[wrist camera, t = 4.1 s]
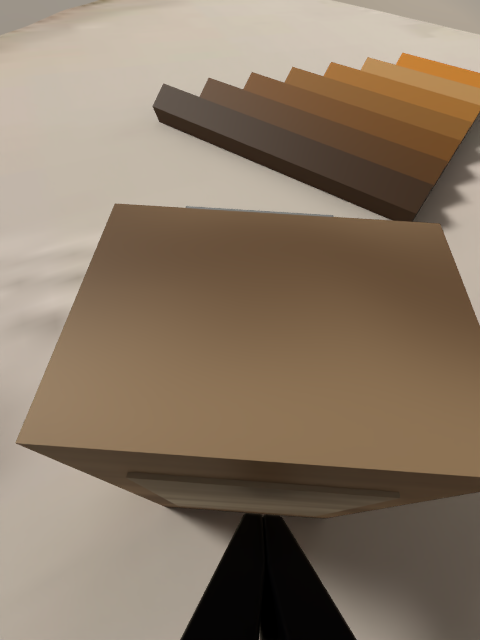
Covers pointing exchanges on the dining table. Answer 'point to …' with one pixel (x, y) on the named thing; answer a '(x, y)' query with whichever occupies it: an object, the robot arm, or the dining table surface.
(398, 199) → the pan flute
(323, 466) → the walnut block
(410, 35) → the dining table surface
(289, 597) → the robot arm
